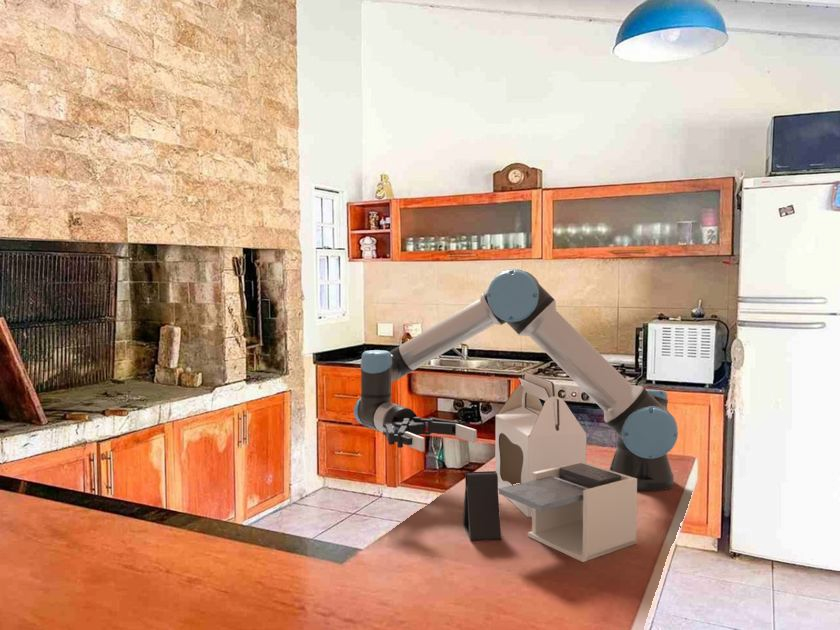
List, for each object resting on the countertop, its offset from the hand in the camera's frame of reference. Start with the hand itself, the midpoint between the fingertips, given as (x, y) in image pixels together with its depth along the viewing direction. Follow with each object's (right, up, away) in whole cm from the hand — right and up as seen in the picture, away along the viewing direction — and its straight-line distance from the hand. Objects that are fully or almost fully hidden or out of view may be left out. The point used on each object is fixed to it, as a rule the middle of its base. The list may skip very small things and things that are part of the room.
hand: (449, 440), depth 138 cm
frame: (+25, -17, -12) cm, 32 cm away
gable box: (+21, -16, +12) cm, 29 cm away
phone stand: (+6, -17, -7) cm, 19 cm away
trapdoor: (+20, -8, -15) cm, 26 cm away
